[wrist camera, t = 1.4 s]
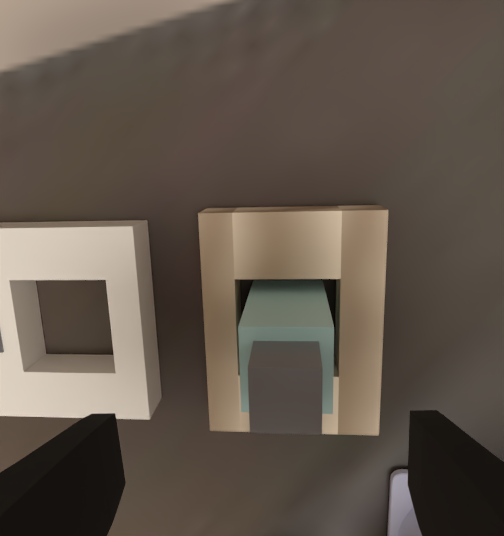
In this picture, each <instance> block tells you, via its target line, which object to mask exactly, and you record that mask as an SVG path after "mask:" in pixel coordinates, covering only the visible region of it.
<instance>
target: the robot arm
mask: <svg viewBox="0 0 504 536" xmlns="http://www.w3.org/2000/svg"><path fill="white" fill-rule="evenodd" d="M124 486H125V477H124V470H123V463H122V456H121V450H120V443H119V436H118V429H117V422H116V416H115V413H100V414H90V415H88V416H87V417H85V418H83V419H81V420H80V421H78V422H77V423H75V424H74V425H72V426H71V427H69V428H68V429H66V430H65V431H63V432H62V433H60V434H59V435H57V436H56V437H54V438H53V439H51V440H50V441H48V442H47V443H45V444H44V445H42V446H41V447H39V448H38V449H36V450H35V451H33V452H32V453H30V454H29V455H27V456H26V457H24V458H23V459H21V460H20V461H18V462H17V463H15V464H13V465H12V466H10V467H9V468H7V469H5V470H4V471H2V472H1V473H0V536H107V534H108V532H109V529H110V527H111V525H112V523H113V520H114V517H115V514H116V511H117V508H118V505H119V502H120V499H121V496H122V493H123V489H124ZM387 536H504V462H503V461H501V460H500V459H499V458H497V457H496V456H495V455H493V454H492V453H491V452H489V451H488V450H487V449H485V448H484V447H483V446H482V445H480V444H479V443H478V442H476V441H475V440H474V439H473V438H471V437H470V436H469V435H468V434H466V433H465V432H464V431H463V430H461V429H460V428H459V427H458V426H456V425H455V424H454V423H453V422H451V421H450V420H449V419H447V418H446V417H445V416H444V415H442V414H441V413H440V412H438V411H437V410H428V411H410V426H409V456H408V469H398V470H395V471H394V472H393V473H392V474H391V477H390V493H389V513H388V533H387Z"/></svg>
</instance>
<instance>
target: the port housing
mask: <svg viewBox="0 0 504 536" xmlns="http://www.w3.org/2000/svg"><path fill="white" fill-rule="evenodd" d="M36 280H106V287H107V297H108V306H109V315H110V325H111V334H112V344H113V353H114V355H87V354H46V348H45V341H44V334H43V327H42V320H41V313H40V306H39V299H38V292H37V285H36ZM161 398H162V393H161V381H160V369H159V356H158V344H157V332H156V319H155V307H154V295H153V282H152V270H151V258H150V245H149V233H148V221H147V220H123V221H61V222H0V416H28V417H67V418H85V417H87V416H88V415H90V414H100V413H115V416H116V419H146V420H150V418H151V416H152V415H153V413H154V411H155V409H156V407H157V405H158V404H159V402H160V400H161Z"/></svg>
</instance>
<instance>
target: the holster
mask: <svg viewBox="0 0 504 536" xmlns="http://www.w3.org/2000/svg"><path fill="white" fill-rule="evenodd" d="M198 222H199V240H200V258H201V276H202V295H203V313H204V331H205V349H206V367H207V385H208V404H209V422H210V431H235V432H250V424H249V412H241V390H240V362H239V335H238V326H239V323H240V320H241V317H242V314H241V285H240V279H336V312H335V357H334V372H333V414H322V434H345V435H379V419H380V396H381V372H382V348H383V325H384V301H385V278H386V254H387V230H388V210H387V209H386V208H384V207H382V206H380V205H347V206H293V207H239V208H206V209H205V210H203V211H201V212H199V213H198Z"/></svg>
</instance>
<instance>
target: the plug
mask: <svg viewBox="0 0 504 536" xmlns="http://www.w3.org/2000/svg"><path fill="white" fill-rule="evenodd" d="M238 335H239V362H240V390H241V412H249V424H250V433H269V434H306V435H322V414H333V372H334V325H333V320H332V316H331V312H330V308H329V304H328V300H327V296H326V292H325V288H324V284H323V280H253V283H252V286H251V289H250V292H249V295H248V298H247V301H246V304H245V307H244V311H243V314H242V317H241V320H240V323H239V326H238Z"/></svg>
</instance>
